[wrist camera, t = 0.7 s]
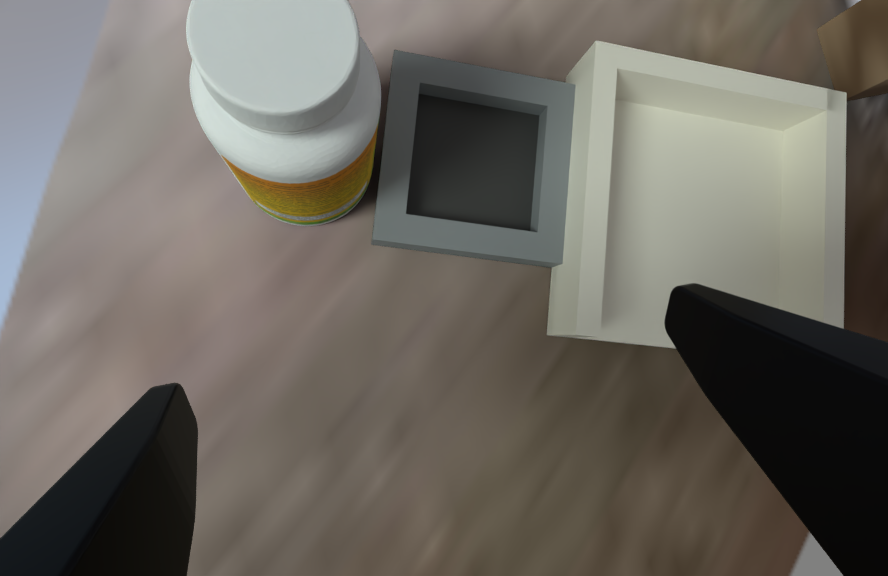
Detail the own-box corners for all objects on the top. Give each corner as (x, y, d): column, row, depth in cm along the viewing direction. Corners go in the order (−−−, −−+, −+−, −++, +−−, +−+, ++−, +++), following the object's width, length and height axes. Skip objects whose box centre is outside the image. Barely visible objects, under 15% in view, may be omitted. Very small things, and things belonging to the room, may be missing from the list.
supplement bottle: (396, 187, 22) (432, 77, 13) (285, 253, 21) (235, 185, 12) (327, 80, 22) (312, -111, 13) (212, 140, 21) (102, -19, 12)
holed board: (551, 267, 23) (562, 264, 22) (371, 244, 22) (372, 239, 21) (564, 96, 24) (575, 84, 23) (391, 64, 23) (394, 49, 22)
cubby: (784, 360, 25) (843, 363, 22) (546, 335, 23) (575, 334, 20) (791, 119, 26) (846, 92, 23) (566, 76, 24) (595, 40, 21)
